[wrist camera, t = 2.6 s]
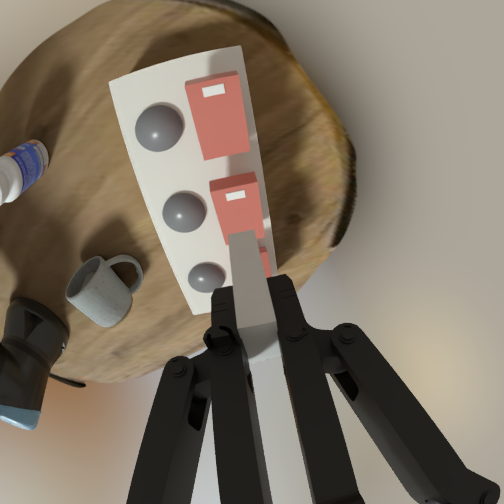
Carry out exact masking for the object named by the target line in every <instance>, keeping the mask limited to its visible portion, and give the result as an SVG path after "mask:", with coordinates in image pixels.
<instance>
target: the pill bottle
mask: <svg viewBox="0 0 504 504" xmlns="http://www.w3.org/2000/svg"><path fill="white" fill-rule="evenodd" d="M48 163H49V158H48V152H47V150H46V148H45V146H44V145H43V144H42V143H41V142H40V141H38V140H29V141H27V142H25V143H23V144H21V145H19V146H18V147H16V148H14V149H12V150H11V151H9V152H7V153H6V154H4V155H2V156H1V157H0V206H1V205H2V204H3V203H4V202H6V203H8V202H12V201H14V200H15V199H16V198H17V197H18V196H19V195H20V194H21V193H23V192H24V191H25V190H26V189H27V188H28V187H29V186H31V185H32V184H33V183H34V182H35V181H37V180H38V179H39V178H40V177H42V176H43V175H44V173H45V172H46V170H47V168H48Z"/></svg>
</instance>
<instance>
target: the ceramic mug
mask: <svg viewBox="0 0 504 504" xmlns="http://www.w3.org/2000/svg"><path fill="white" fill-rule="evenodd" d="M119 262H131V263H133V265H134V266H135V268H136V272H137V273H138V279H137V281H136V282H135V283H134V284H133V286H131V287H130V288H128V287H127V286H126V285H125V284H124V283H123V282H122V281H121V280H120V279H119V277H118V276H117V275H116V274H115V272H114V271H113V270H112V269H111V267H110V266H111V265H113V264H115V263H119ZM142 281H143V272H142V269H141V266H140V264H139V263H138V261H137V260H136V259H135V258H133V257H131V256H129V255H118V256H115V257H113V258H111V259H109V260H107V261H105V260H104V259H103V258H102V257H101V256H95V257H93V258H90V259H89V260H87V261H86V262H85V263H84V264H82V265H81V267H80V268H79V269H78V270H77V271H76V272H75V273H74V275H73V276H72V278H71V280H70V281H69V283H68V285H67V288H66V292H65V296H66V299H67V300H68V301H69V302H71V303H72V304H73V305H74V306H75V307H77V308H78V309H79V310H80V311H81V312H83V313H84V314H85V315H87V316H88V317H89V318H90V319H92V320H93V321H94V322H96V323H97V324H99V325H101V326H103V327H105V328H112V327H115V326H117V325H118V324H120V323H121V322H122V321H123V320H124V319H125V318H126V317H127V315H128V313H129V312H130V310H131V307H132V301H133V298H132V294H133V293H134V292H136V291H137V290H138V289H139V287H140V286H141V284H142Z"/></svg>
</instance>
